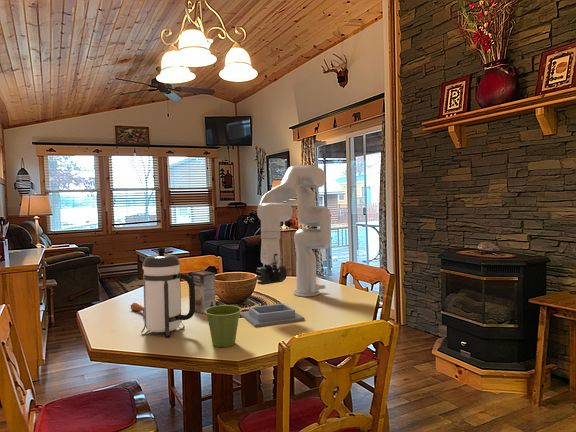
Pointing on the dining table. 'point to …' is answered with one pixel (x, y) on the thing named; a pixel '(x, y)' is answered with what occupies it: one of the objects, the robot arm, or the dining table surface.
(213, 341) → the plant pot
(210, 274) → the coffee box
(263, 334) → the dining table surface
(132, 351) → the dining table surface
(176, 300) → the coffee press
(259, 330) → the dining table surface
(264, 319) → the tray
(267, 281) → the black lumpy block
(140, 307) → the kendama
